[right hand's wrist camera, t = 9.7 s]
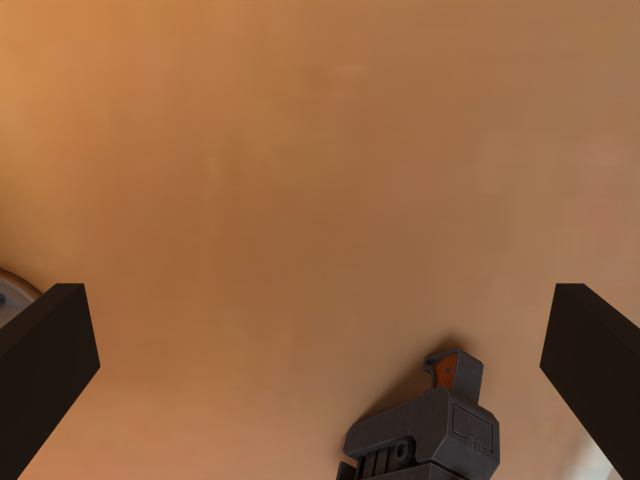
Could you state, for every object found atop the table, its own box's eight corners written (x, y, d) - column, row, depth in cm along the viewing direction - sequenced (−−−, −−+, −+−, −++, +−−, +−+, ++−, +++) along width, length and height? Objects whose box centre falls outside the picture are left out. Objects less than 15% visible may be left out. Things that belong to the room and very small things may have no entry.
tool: (505, 358, 42) (504, 542, 32) (385, 408, 56) (359, 547, 46) (453, 327, 41) (437, 507, 31) (344, 386, 55) (308, 523, 45)
